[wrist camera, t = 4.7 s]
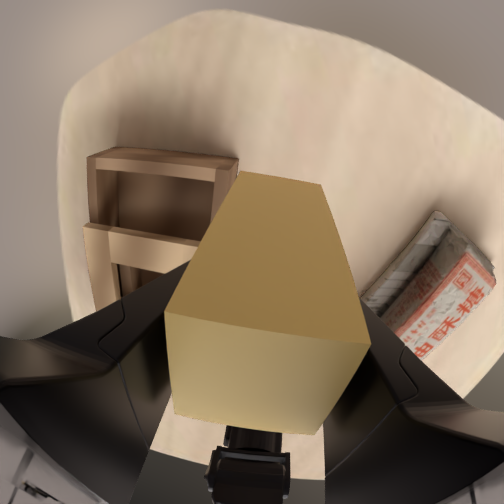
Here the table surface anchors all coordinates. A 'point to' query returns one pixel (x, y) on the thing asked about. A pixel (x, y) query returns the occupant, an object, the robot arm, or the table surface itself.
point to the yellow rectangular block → (266, 312)
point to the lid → (128, 256)
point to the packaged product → (431, 286)
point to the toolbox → (156, 196)
